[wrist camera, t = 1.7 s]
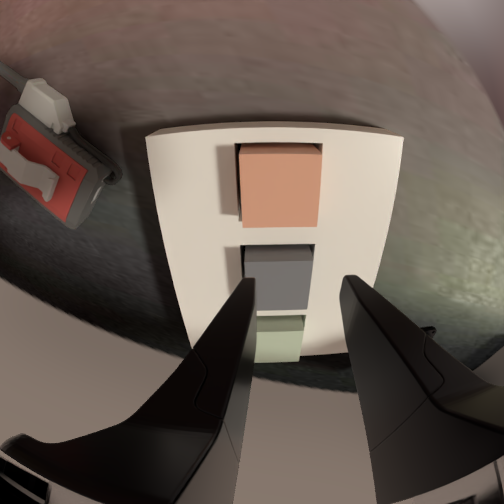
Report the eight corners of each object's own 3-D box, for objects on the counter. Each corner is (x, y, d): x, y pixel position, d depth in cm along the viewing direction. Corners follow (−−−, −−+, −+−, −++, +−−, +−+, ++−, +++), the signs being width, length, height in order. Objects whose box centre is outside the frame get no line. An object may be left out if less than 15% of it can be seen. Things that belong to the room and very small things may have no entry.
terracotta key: (310, 142, 17) (322, 154, 14) (308, 203, 20) (316, 227, 17) (241, 142, 17) (238, 154, 14) (244, 204, 20) (242, 227, 17)
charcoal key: (305, 233, 21) (313, 260, 18) (301, 280, 24) (307, 309, 21) (246, 234, 21) (244, 261, 18) (248, 281, 24) (247, 310, 21)
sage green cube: (299, 301, 25) (303, 330, 22) (295, 333, 27) (298, 361, 24) (249, 302, 25) (248, 332, 22) (251, 334, 28) (250, 362, 25)
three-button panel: (384, 128, 17) (403, 137, 15) (345, 330, 29) (350, 351, 26) (160, 129, 18) (145, 136, 15) (198, 333, 29) (194, 355, 27)
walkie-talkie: (143, 148, 19) (4, 49, 12) (118, 165, 15) (-28, 53, 8) (97, 226, 22) (-22, 124, 15) (74, 254, 19) (-50, 137, 12)
